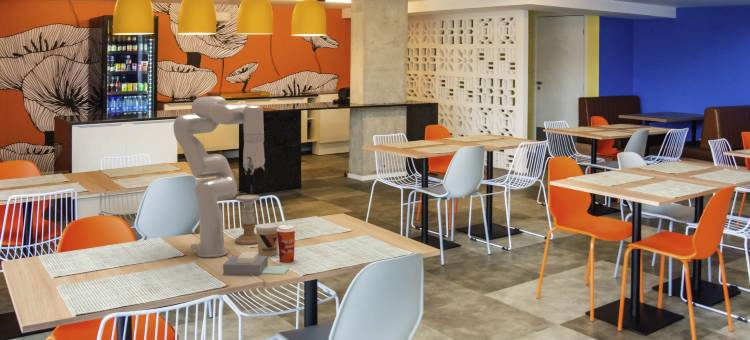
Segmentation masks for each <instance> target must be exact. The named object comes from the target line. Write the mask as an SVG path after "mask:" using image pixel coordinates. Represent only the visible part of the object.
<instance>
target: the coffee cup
mask: <svg viewBox="0 0 750 340" xmlns="http://www.w3.org/2000/svg"><path fill="white" fill-rule="evenodd" d="M278 226H279V225H278V224H277V223H260V224H259V223H258V224H257V225H256V227H255V231H256V232H255V233H256V234H257V243H258V244H257V250H258V251H257V252H259V256H268V257H272V256H273V255H274V256H276V255H278V252H279V246H278V234H277V231H276V230H277V227H278Z"/></svg>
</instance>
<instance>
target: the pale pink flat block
mask: <svg viewBox="0 0 750 340" xmlns="http://www.w3.org/2000/svg"><path fill="white" fill-rule="evenodd" d="M259 256H260V255H259V252H258V251H243V252H242V253H241V254H240V255H239V257H238V258H237V263H254V262H255V261H256V260H257V259H258V257H259Z"/></svg>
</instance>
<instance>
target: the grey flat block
mask: <svg viewBox="0 0 750 340" xmlns="http://www.w3.org/2000/svg"><path fill="white" fill-rule="evenodd" d="M239 256H240V255H239V254H238V255H231V256H230V257H229V258H228V259H227V260H226V261H225V262H223V264H222V270H223V274H222V275H224V276H225V275H226V276H261V275H262V274H261V273H262V272H263V270H264V269H265V268H266V267H267V266H269V265H268V264H269V263H268V262H269V261H268V257H269V256H260V255H259V257H258V259H257V260H256V261H255V262H254V263H237V258H238V257H239Z"/></svg>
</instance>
